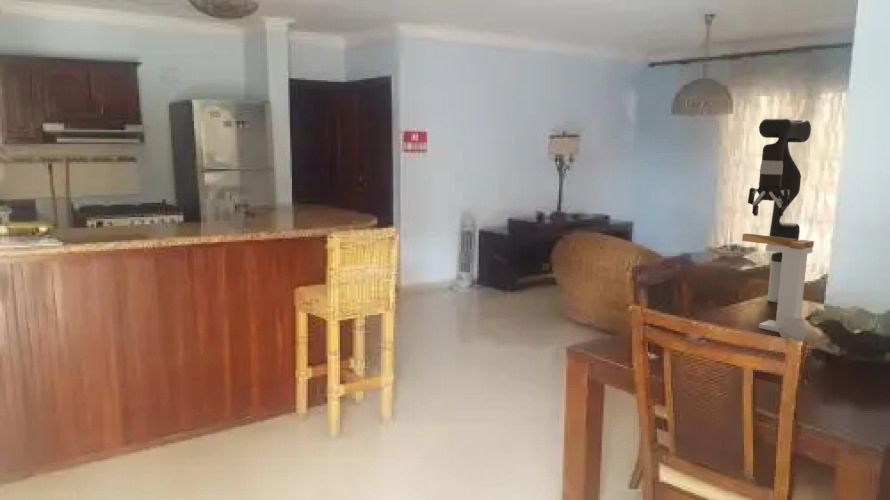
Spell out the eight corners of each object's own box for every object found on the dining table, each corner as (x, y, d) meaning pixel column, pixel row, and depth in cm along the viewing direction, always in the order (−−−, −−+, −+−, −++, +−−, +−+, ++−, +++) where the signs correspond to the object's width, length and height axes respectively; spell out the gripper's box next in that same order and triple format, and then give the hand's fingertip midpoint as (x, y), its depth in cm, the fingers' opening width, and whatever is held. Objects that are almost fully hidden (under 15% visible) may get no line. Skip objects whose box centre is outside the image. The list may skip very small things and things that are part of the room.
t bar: (749, 239, 252) (750, 232, 252) (813, 246, 236) (814, 239, 236) (737, 241, 246) (738, 234, 245) (802, 249, 230) (802, 242, 229)
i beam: (769, 323, 249) (777, 242, 245) (804, 330, 241) (812, 246, 236) (758, 327, 243) (766, 244, 239) (793, 335, 235) (802, 249, 230)
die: (807, 342, 228) (791, 315, 232) (818, 336, 220) (802, 308, 223) (784, 352, 228) (768, 324, 231) (795, 346, 219) (778, 318, 223)
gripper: (795, 173, 250) (790, 217, 252) (755, 172, 260) (752, 214, 262) (787, 174, 245) (782, 219, 247) (747, 172, 255) (743, 215, 257)
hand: (767, 216), depth 255 cm, fingers open, 8 cm apart
